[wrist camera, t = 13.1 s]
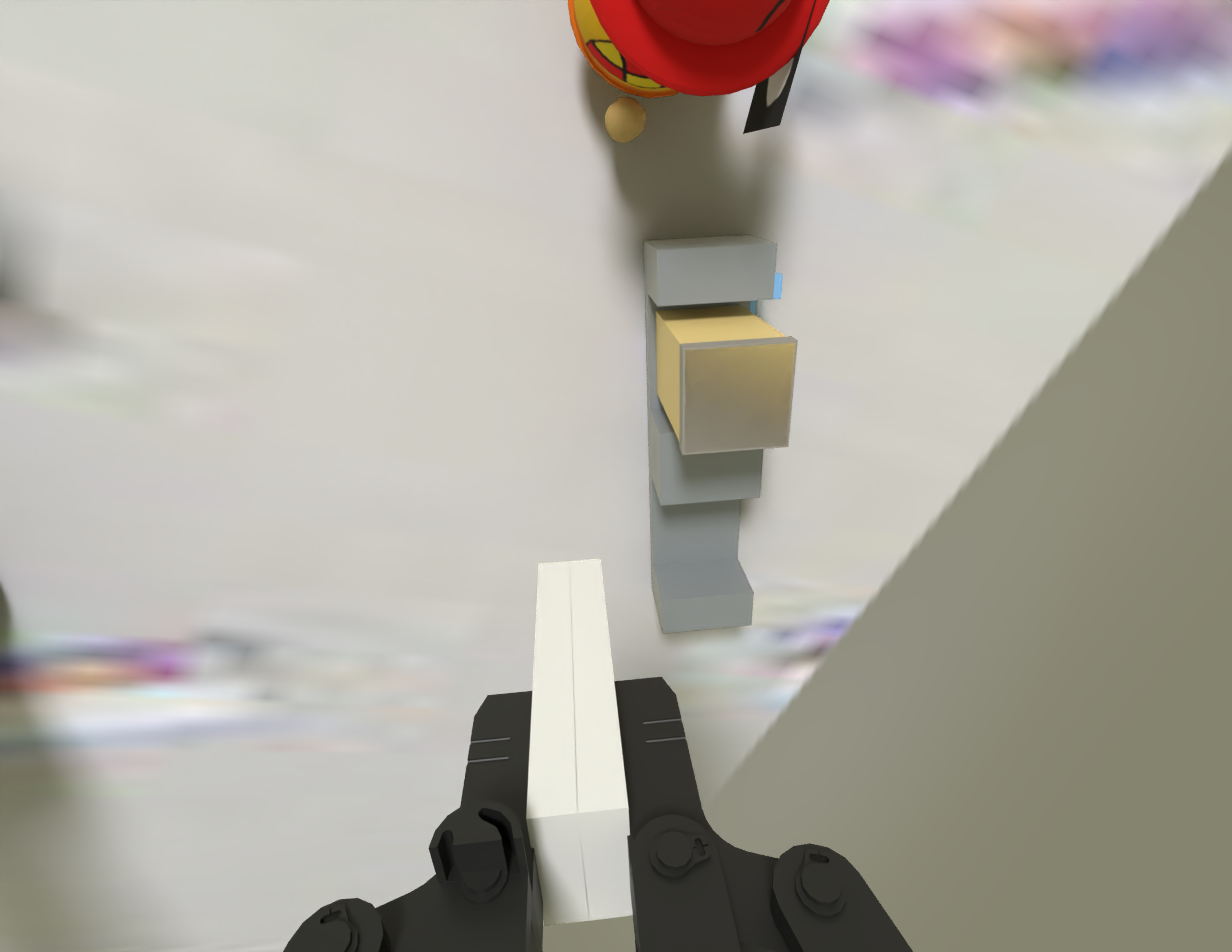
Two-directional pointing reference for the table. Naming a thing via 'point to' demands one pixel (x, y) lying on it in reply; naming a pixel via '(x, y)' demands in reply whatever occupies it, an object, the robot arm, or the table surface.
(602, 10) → the toy
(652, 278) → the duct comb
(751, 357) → the tan yellow block
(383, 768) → the table surface
